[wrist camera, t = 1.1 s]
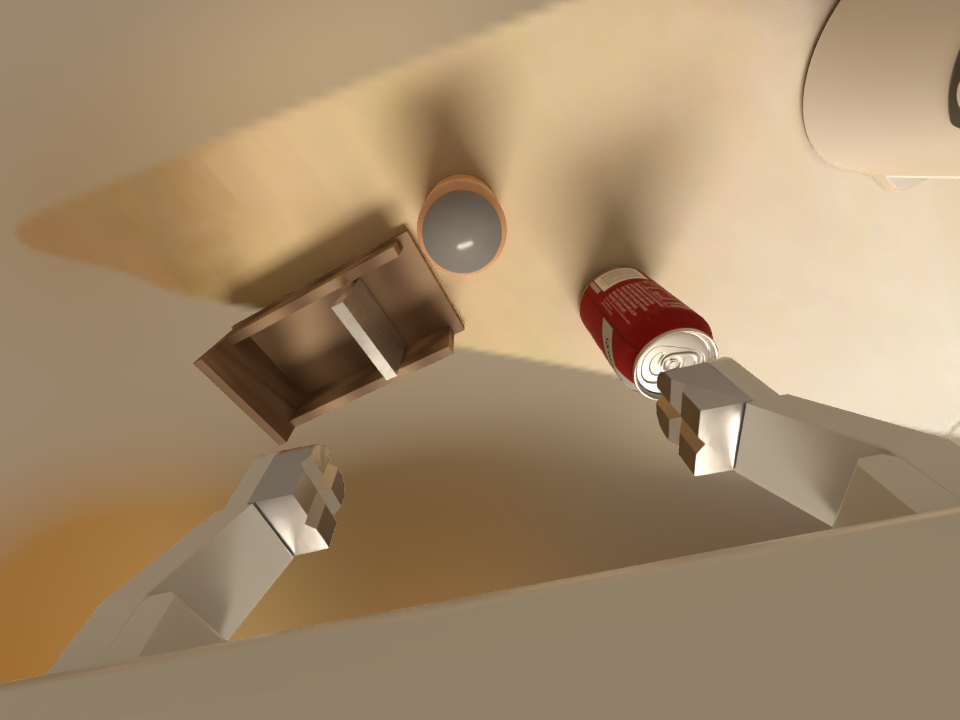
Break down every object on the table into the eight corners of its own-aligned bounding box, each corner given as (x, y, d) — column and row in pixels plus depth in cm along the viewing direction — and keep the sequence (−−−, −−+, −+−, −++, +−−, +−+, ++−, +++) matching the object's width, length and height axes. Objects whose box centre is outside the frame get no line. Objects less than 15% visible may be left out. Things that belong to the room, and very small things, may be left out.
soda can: (580, 266, 34) (633, 323, 24) (656, 262, 34) (742, 317, 24) (574, 334, 37) (618, 411, 27) (643, 330, 37) (712, 405, 27)
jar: (478, 159, 29) (482, 165, 23) (510, 231, 32) (522, 254, 26) (410, 197, 30) (397, 213, 24) (447, 263, 33) (444, 293, 27)
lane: (407, 229, 32) (396, 250, 26) (464, 327, 36) (465, 362, 31) (234, 324, 35) (191, 361, 29) (306, 402, 40) (280, 446, 34)
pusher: (359, 277, 33) (342, 302, 28) (405, 343, 36) (397, 375, 31) (334, 291, 33) (313, 317, 28) (381, 355, 36) (370, 388, 32)
